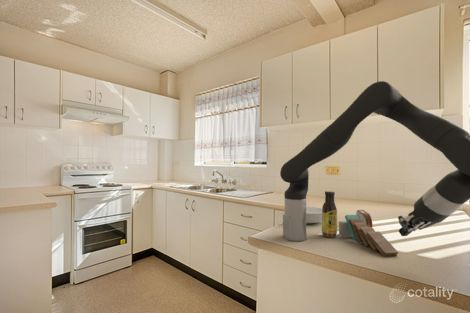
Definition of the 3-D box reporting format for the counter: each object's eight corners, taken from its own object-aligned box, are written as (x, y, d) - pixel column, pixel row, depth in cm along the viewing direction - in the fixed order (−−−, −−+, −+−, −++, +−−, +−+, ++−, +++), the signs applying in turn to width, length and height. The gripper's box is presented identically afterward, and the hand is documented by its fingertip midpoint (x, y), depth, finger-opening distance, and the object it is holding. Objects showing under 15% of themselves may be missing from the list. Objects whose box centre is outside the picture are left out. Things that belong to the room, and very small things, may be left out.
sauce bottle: (330, 239, 97) (329, 192, 98) (318, 235, 103) (318, 191, 103) (340, 236, 100) (340, 191, 101) (328, 232, 106) (328, 190, 106)
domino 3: (379, 243, 88) (365, 222, 96) (368, 244, 88) (354, 223, 96) (378, 246, 89) (363, 224, 97) (366, 246, 89) (353, 225, 97)
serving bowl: (331, 227, 114) (331, 214, 114) (288, 226, 117) (288, 212, 117) (322, 217, 135) (321, 205, 135) (286, 216, 138) (285, 204, 138)
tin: (373, 233, 106) (373, 214, 106) (365, 232, 106) (365, 214, 106) (362, 224, 120) (361, 208, 120) (355, 223, 121) (355, 208, 121)
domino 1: (365, 237, 96) (356, 214, 102) (354, 237, 96) (346, 215, 101) (363, 238, 98) (354, 215, 103) (352, 238, 97) (344, 216, 103)
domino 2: (372, 240, 93) (360, 218, 99) (360, 241, 92) (350, 218, 99) (370, 242, 94) (358, 220, 101) (358, 242, 93) (348, 220, 100)
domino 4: (388, 247, 84) (371, 226, 93) (376, 248, 83) (360, 227, 92) (386, 250, 85) (370, 229, 93) (374, 251, 84) (359, 230, 93)
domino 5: (398, 252, 80) (379, 231, 89) (385, 253, 79) (367, 231, 88) (396, 255, 81) (377, 234, 89) (383, 256, 80) (366, 235, 89)
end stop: (361, 235, 102) (361, 222, 102) (342, 236, 101) (342, 222, 101) (357, 233, 105) (357, 220, 105) (339, 234, 104) (338, 221, 104)
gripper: (448, 192, 67) (412, 222, 79) (408, 193, 66) (377, 224, 78) (469, 214, 62) (427, 243, 74) (426, 215, 60) (390, 245, 72)
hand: (402, 233), depth 76 cm, fingers closed
